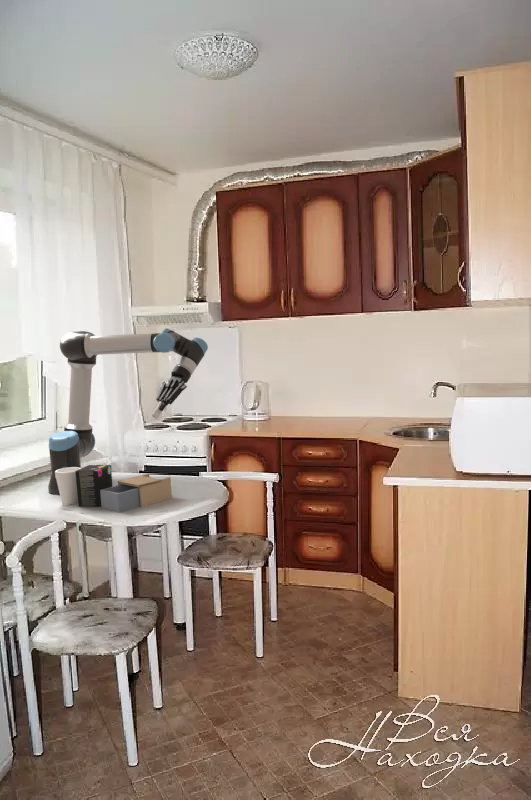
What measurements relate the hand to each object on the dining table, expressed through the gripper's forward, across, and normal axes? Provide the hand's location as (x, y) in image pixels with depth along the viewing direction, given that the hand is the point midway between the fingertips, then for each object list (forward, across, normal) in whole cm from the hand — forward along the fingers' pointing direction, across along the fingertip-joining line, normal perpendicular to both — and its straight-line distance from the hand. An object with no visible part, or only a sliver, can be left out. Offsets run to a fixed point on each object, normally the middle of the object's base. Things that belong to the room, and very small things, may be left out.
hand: (154, 416), depth 253 cm
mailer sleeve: (+31, -10, -11) cm, 35 cm away
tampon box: (+40, +3, -2) cm, 41 cm away
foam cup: (+43, +15, 0) cm, 45 cm away
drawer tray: (+35, -10, -8) cm, 37 cm away
